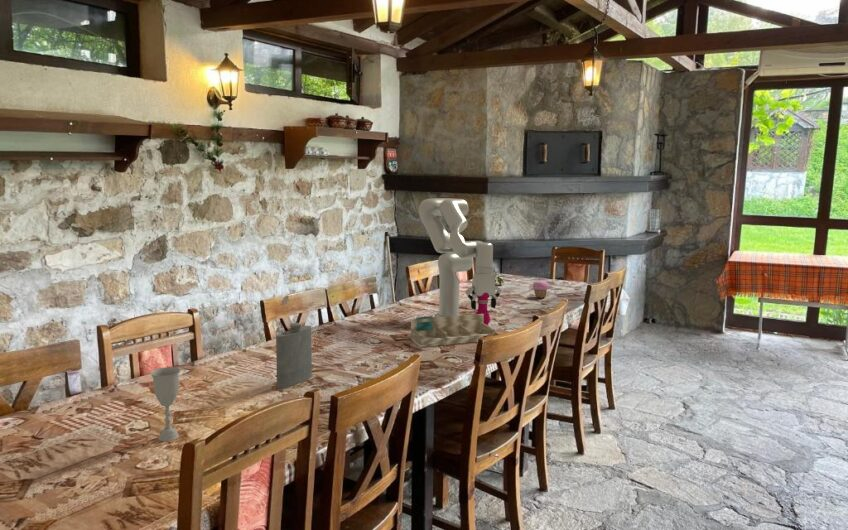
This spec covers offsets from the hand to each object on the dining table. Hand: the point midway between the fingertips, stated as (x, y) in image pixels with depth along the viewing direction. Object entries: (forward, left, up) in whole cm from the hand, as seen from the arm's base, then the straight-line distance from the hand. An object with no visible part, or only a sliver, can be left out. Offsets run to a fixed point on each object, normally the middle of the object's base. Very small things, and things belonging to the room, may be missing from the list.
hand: (483, 308), depth 283 cm
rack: (+12, -20, -10) cm, 26 cm away
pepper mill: (-1, 0, -10) cm, 10 cm away
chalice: (+77, -130, -10) cm, 152 cm away
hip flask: (+44, -91, -10) cm, 102 cm away
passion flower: (-99, +56, -10) cm, 114 cm away
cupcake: (-55, +63, -10) cm, 84 cm away
